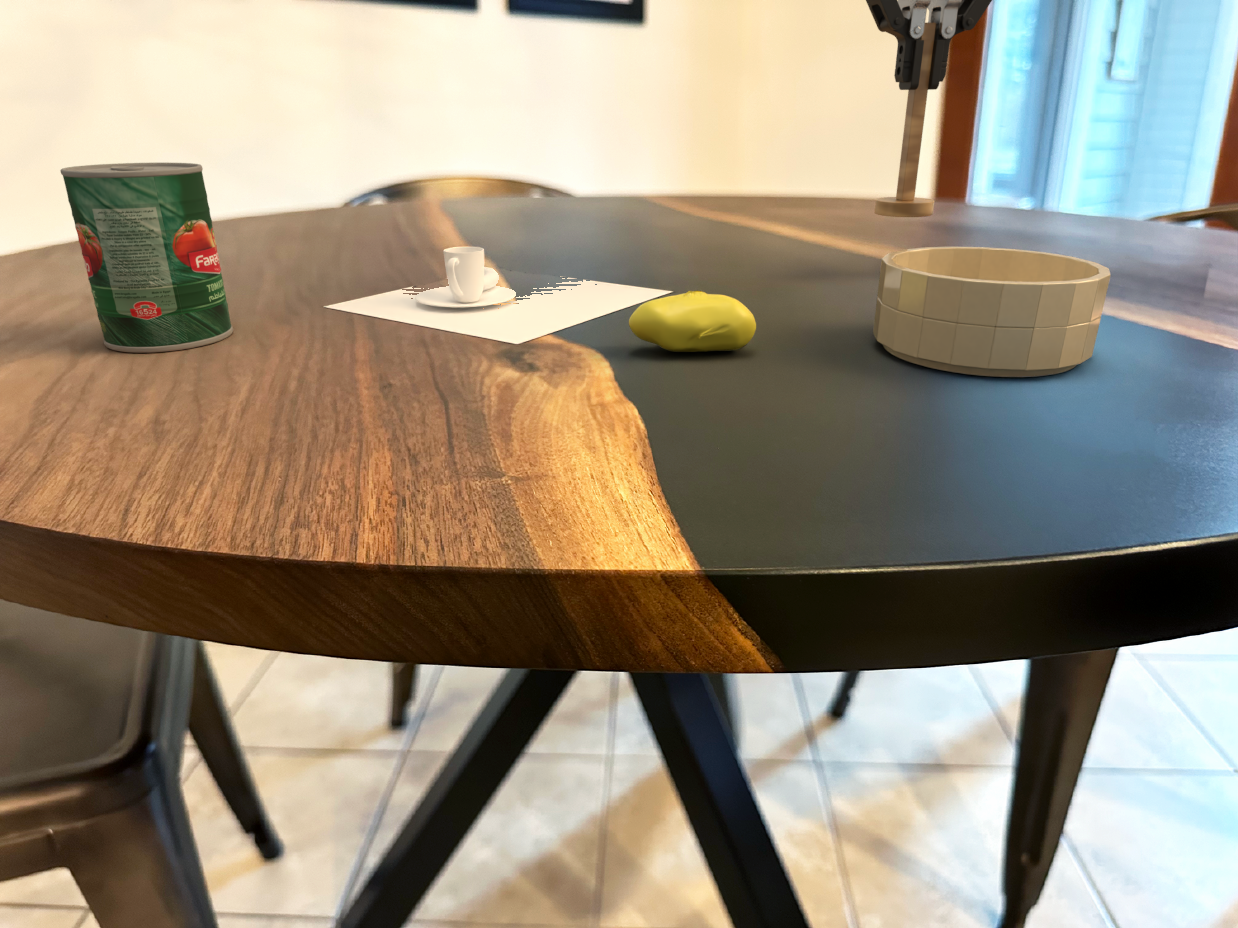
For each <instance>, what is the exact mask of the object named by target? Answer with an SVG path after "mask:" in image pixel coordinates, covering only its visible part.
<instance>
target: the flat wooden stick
mask: <svg viewBox="0 0 1238 928" xmlns="http://www.w3.org/2000/svg"><path fill="white" fill-rule="evenodd" d="M935 29H936V23H928V22H925V27H924V33H923V35H922V36H921V37H920V40H924V47H923V55H922V63H921V71H920V80H919V86H918V88H917V89H916V90H907V99H906V108H905V118H904V126H903V134H902V143H901V151H900V159H899V169H898V177H897V185H896V186H897V187H896V194H895V196H886V197H879V198H876V199H875V205H874V214H875V215H878V216H882V217H883V216H884V217H891V218H924V217H926V218H927V217H930V216H933V215H934V208H935V207H934V206H935V200H934V199H931V198H927V197H917V196H916V188H917V181H918V172H919V165H920V156H921V149H922V148H921V147H922V141H923V140H922V139H923V133H924V126H925V125H924V123H925V116H926V110H927V109H926V108H927V99H928V93H929V90H928V84H929V76H930V68H931V60H932V52H933V44H934V37H935Z"/></svg>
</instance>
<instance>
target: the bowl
mask: <svg viewBox="0 0 1238 928" xmlns="http://www.w3.org/2000/svg"><path fill="white" fill-rule="evenodd" d="M1111 277H1112V276H1111V271H1110V269H1109V267H1106V266H1104V265H1102V264H1100V263H1098V262H1096V261H1092V260H1087V259H1085V258H1079V257H1075V256H1071V255H1064V254H1058V253H1052V252H1045V251H1036V250H1027V249H1018V248H1015V249H1014V248H1002V247H987V246H983V247H982V246H928V247H916V248H907V249H900V250H895V251H891V252H888V253H886V254H885V255H884V256H883V257H882V258H881V262H880V272H879V279H878V287H877V294H876V295H877V297H876V305H875V313H874V321H873V329H872V334H873V336H874V338H875V340H876V342H878V343H880V344H881V345H882V347H883V349H884V350H885V351H886V352H887V353H889V354H891V355H892V356H894V357H896V358H898V359H900V360H903V361H905V362H908V363H911V364H915V365H918V366H922V367H925V368H930V369H934V370H939V371H942V372H943V371H945V372H949V373H955V374H962V375H970V376H971V375H972V376H979V377H993V378H994V377H996V378H1033V377H1045V376H1046V377H1047V376H1051V375H1057V374H1061V373H1065V372H1068V371H1070V370H1072V369H1074V368H1076V367H1077V365H1081V364H1083V363H1084V362H1086V361H1087V360H1089V359H1090V358H1092V357H1093V354H1094V350H1095V345H1096V341H1097V337H1098V332H1099V328H1100V323H1101V320H1102V315H1103V312H1104V306H1105V302H1106V298H1107V293H1108V288H1109V285H1110V280H1111Z"/></svg>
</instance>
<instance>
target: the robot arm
mask: <svg viewBox="0 0 1238 928" xmlns="http://www.w3.org/2000/svg"><path fill="white" fill-rule="evenodd" d="M992 1H993V0H865V2H866V5H867V6H868V9H869V11H870V13H871V15H872V18H873V20H874V23H875V25H876V28H877V30H878V31H880V32H881V33H887V34H889V35H891V36H893V37H895V39H896V41H897V49H896V57H895V59H896V60H895V69H894V75H893V76H894V80H895V81H894V82H895V83H898V88H899V90H900V91H908V90H916V89H917V88H918V86H919V80H920V71H921V63H922V55H923V47H924V40H920V37H921V36H922V35H923V33H924V27H925V23H926V20H927V23H936V29H935V37H934V44H933V52H932V60H931V68H930V76H929V84H928V91H933V90H935V91H936V90H937V89H938V88H939V86H940V83H943V82H944V80H945V77H946V75H947V67H948V60H949V52H950V46H951V45H950V44H951V41H952V39H953V38H954V37H955V36H956V35H958V34H960V33H963V32H967V31H972V30H973V29H975V27H976V26H977V24H978V22H979V20H980V19H981V18H982V16H983V15H984V13H985V11H986V10H987V9H988V8H989V6H990V4H991V3H992ZM927 11H928V19H927Z"/></svg>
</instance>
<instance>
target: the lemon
mask: <svg viewBox="0 0 1238 928" xmlns="http://www.w3.org/2000/svg"><path fill="white" fill-rule="evenodd" d="M628 326H629V328H630V330H631V332H632V334H634V336H635V337H637V338H638V339H640V340H641V341H644V342H647V343H650V344H654V345H656V346H658V347H660V348H662V349H663V350H665V351H668V352H675V353H697V352H698V353H699V352H717V351H719V352H721V351H725V352H726V351H736V350H740V349H742V348H744V347H745V346H746V345H748V344H749V343H750V342H751V340H752V339H753V337H754V335H755V333H756V330H757V322H756V319H755V316H754V314H753V313H752V312H751V310H750V309H748V307H746V305H745V304H743V303H742V302H741V301H739V300H738V299H736V298H734V297H732V296H728V295H725V294H719V293H718V294H717V293H706V292H705V291H702V290H688V291H687V292H686V293H679V294H675V295H670V296H665V297H659V298H654V299H650V300H647V301H645V302H643V303H642V304H640V305H639V306H638V307H637V308H636V309H635V310H634V311H633V313H632V314H631V315H630V317H629V319H628Z"/></svg>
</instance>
